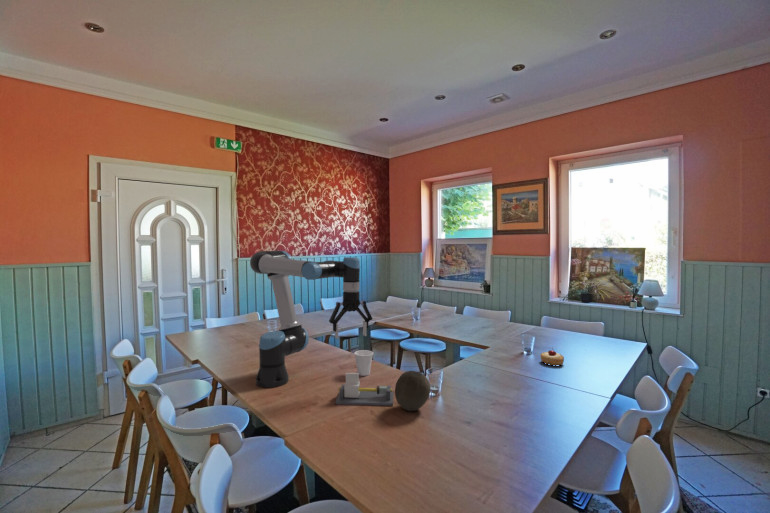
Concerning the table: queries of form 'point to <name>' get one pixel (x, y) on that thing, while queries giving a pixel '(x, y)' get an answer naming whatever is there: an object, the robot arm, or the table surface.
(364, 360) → the cup
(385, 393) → the horizontal rod stand
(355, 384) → the sleeve
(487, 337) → the table surface
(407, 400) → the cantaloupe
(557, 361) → the pastry
